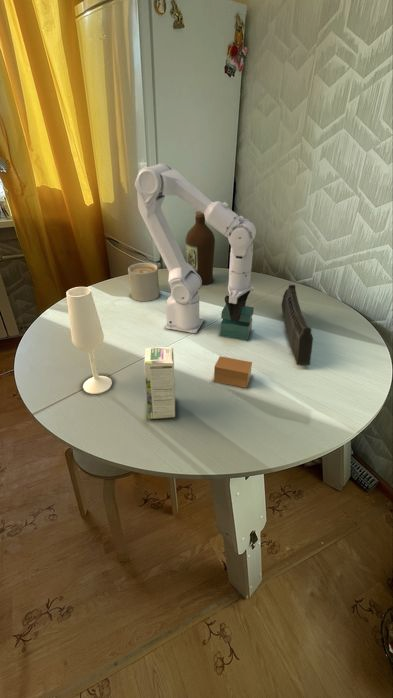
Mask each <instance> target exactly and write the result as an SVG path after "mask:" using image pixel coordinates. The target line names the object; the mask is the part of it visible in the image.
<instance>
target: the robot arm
mask: <svg viewBox="0 0 393 698" xmlns="http://www.w3.org/2000/svg"><path fill="white" fill-rule="evenodd" d="M134 188H135V190H136V191H137V193H136V194H137V207H138V208H137V209H138V211H139V213H140V216H141V218H142V220H143V222H144V224H145V226H146V228H147V230H148V232H149V234H150V237H151V238H152V240H153V242H154V244H155V246H156V248H157V250H158V253H159V254H160V256H161V258H162V261H163V263H164V264H165V267H166V269H167V271H168V285H169V287H170V296H168V298H167V300H166V305H165V314H166V317H165V318H166V326H165V329H167V330H173V331H179V332H185V333H191V334H196V333H197V332H198V331H199V329H200V328H201V326H202V324H204V318H203V319H202V318H200V294H199V290H200V289H201V288H202V286H203V285H202V280H201V277H200V276H199V275H198V274H197V273H196V272H195V271H194V269H193V267H192V266H191V265H189V264H188V263H187V260H186V259H185V257H184V255H183V253H182V250H181V249H180V246H179V244H178V242H177V240H176V238H175V236H174V233H173V230H172V229H171V227H170V225H169V223H168V221H167V218H166V216H165V214H164V211H163V210H162V205H163V203H164V199H165V197H166V196H177V197H179V199H182V200H183V201H184V202H185V203H187V204H189V205H191V206H192V207H193V208H195V209H196V210H198V211H201V212H202V213H204V216H205V223H206V224H208V225H210V226H211V227H212V228H214V229H215V230H216V231H217V232H219V234H221V235H222V236H224V237H225V238H227V240H228V243H229V246H230V252H229V270H228V271H229V272H228V284H227V290H228V294H229V295H225V296H224V303H225V305H226V304H227V306H228V309H229V314H230V319H231V321H237V322H238V321H239V318H240V314H241V310H242V307H243V306H246V302H247V299H248V297H249V295H250V293H251V292H253V291H254V290H255V286H254V285H251V278H252V268H253V257H254V252H253V250H254V239H255V237H256V235H257V227H256V226H255V224H254V222H253V221H252V220H251V219H248V218H245V217H244V216H242V215H240V216H239V215H238V214H237V213H236V212H235V211H233V210H231V208H229V203H227V202H226V201H223V202H221V201H220V200H217V201H212V200H210V198H208V197H207V196H206V195H205V194H204V193H202V192H201V191H200V190H199V189H198V188H196V186H194V185H193V184H192V183H191V182H189V180H187V179H186V178H185V177H184V176H183V175H182V174H181V173H180V172H179V171H178V170H177V169H174V168H172V167H171V166H170V165H169V164H167V163H166V162H165V163H164V162H159V163H156V164H155V165H152V166H146V167H143V168H141V169H139V171H138V174H137V176H136V179H135V182H134Z"/></svg>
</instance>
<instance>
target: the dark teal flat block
mask: <svg viewBox="0 0 393 698" xmlns="http://www.w3.org/2000/svg"><path fill="white" fill-rule="evenodd" d="M220 314H221V315H220V318H221V319H222V320H223V319H228V320H231V319H230V314H229V309H228V306H227V304H226V303H225V305H224V307H223V308H222V310H221V313H220ZM253 315H254V306H249V305H245V306H243V307H242V310H241V314H240V318H239V321H241V322H248V323H250V320H251V318H252V319H253Z"/></svg>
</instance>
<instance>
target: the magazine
mask: <svg viewBox="0 0 393 698" xmlns="http://www.w3.org/2000/svg"><path fill="white" fill-rule="evenodd" d="M281 312H282V317H283V323H284V329H285V332H286V337H287V340H288V343H289V344H288V345H289V346H290V349H291V352H292V355H293V357H294V360H295V362H296V365H297V366H298V365H299V366H304V367H306V366H310V365H311V359H312V352H313V351H312V350H313V344H314V343H313V342H314V337H313V334H312V328H311V327H309V325H308V323H307V322H306V319H305V317H304V315H303V312H302V310H301V306H300V302H299V300H298V295H297V290H296V284H289V285H288V286H287V289H286V290H285V291H284V293H283V296H282V301H281Z"/></svg>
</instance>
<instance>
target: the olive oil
mask: <svg viewBox="0 0 393 698" xmlns="http://www.w3.org/2000/svg"><path fill="white" fill-rule="evenodd" d="M194 217H195V221H194V222H195V223H194V224H193V226H192V227H191V228H190V229H189V230H188V231H187V233H186V235H185V243H184V244H185V253H186V255H185V256H186V263H188V264H189V265H191V266H192V267H193V269H194V271H195V272H196V273H197V274H198V275H199V276H200V277H201V280H202V285H201V286H204V285H209V284H210V283H212V282H213V274H214V259H215V246H216V239H215V234H214V232H213V231H212V229H211V228H209V226H208V225H207V223H206V220H205V216H204V213H202V212H201V211H199V210H198V211H196V212H195V216H194Z"/></svg>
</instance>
